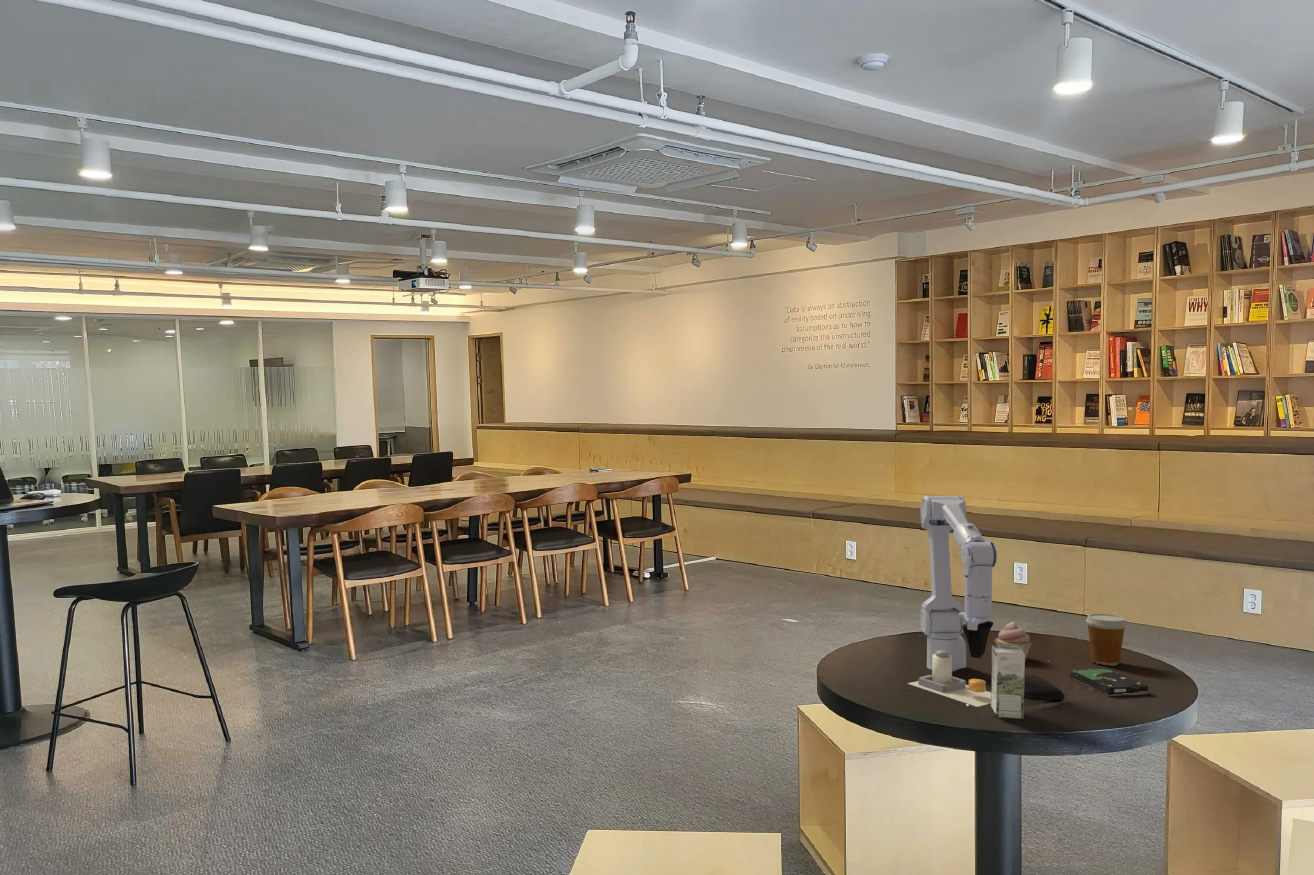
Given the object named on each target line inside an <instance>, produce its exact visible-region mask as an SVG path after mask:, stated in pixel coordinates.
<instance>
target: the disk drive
mask: <svg viewBox="0 0 1314 875" xmlns="http://www.w3.org/2000/svg"><path fill="white" fill-rule="evenodd" d="M1069 675H1070V677H1072V678H1074V679H1077V680H1079V681H1080V682H1083V683H1085V684H1088V685H1090V686H1091V687H1093V688H1095V689H1097V690H1099V691H1101V692H1102V693H1106V694H1108V695H1113V694H1122V693H1134V692H1139V691H1148V692H1149V685H1147V684H1146V683H1144V682H1142V681H1138V680H1137V679H1135V678H1132V677H1130V676H1127V675H1125V674H1122V673H1120V672H1118V671H1115V670H1113V669H1111V668H1108V667H1103V668H1101V667H1099V668H1087V669H1072V670H1071V671H1070V672H1069Z"/></svg>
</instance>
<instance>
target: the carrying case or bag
mask: <svg viewBox="0 0 1314 875" xmlns="http://www.w3.org/2000/svg"><path fill="white" fill-rule="evenodd" d="M1065 698H1066V695H1065V693H1063V691H1062V690H1061V689H1059V688H1058V687H1057V686H1056V685H1054V684H1052V683H1051V682H1049V681H1047V680H1046V679H1044V678H1042V677H1041V676H1039V675H1036V674H1024V699H1027V700H1032V701H1033V700H1034V701H1035V700H1036V701H1037V700H1039V701H1040V700H1046V701H1043V702H1042V704H1052V703H1055V702H1059V703H1062V702H1063V701H1064V700H1065ZM1055 704H1056V703H1055Z"/></svg>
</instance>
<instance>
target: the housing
mask: <svg viewBox="0 0 1314 875" xmlns="http://www.w3.org/2000/svg"><path fill="white" fill-rule="evenodd" d="M966 683H967V682H966V679H962V678H960V677H959V678H958V677H956V676H953V675H952V683H948V684H944V685H943V684H940V683H937V682H934V681H932V674H928V675H923V676H919V678H918V680H917V681H912V682H908V683H907V685H910V686H913V687H916V688H919V689H922V690H925V691H929V692H931V693H934V694H938V695H941V696H943V697H946V698H949V699H952V700H954V701H958V702H962V703H965V704H968V705H970V706H973V707H975V708H978V707H982V706H986V705H991V691H987V690H986V691H985V692H972V691H970V690H969V684H966Z"/></svg>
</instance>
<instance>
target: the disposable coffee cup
mask: <svg viewBox="0 0 1314 875" xmlns="http://www.w3.org/2000/svg"><path fill="white" fill-rule="evenodd" d="M1085 623H1086V624H1087V628H1088V629H1087V630H1088V638H1089V639H1088V640H1089V645H1090V646H1089V647H1090V655H1091V656H1090V657H1091V661H1092V660H1094V661H1099V662H1106V663H1115V662H1119V663H1120V661H1121V660H1120V659H1121V655H1122V654H1121V653H1122V646H1123V641H1124V635H1125V628H1127V622H1126V619H1125V618H1124V616H1121V615H1116V614H1110V613H1089V614H1088V615H1087V618H1086V619H1085Z"/></svg>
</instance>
